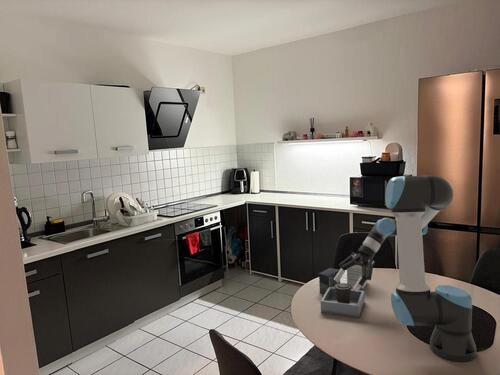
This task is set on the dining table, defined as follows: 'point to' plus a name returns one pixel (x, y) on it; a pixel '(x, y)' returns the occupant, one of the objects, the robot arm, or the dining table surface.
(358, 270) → the supplement box
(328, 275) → the small box
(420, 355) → the dining table surface
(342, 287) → the coffee cup
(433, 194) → the robot arm
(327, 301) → the bin
